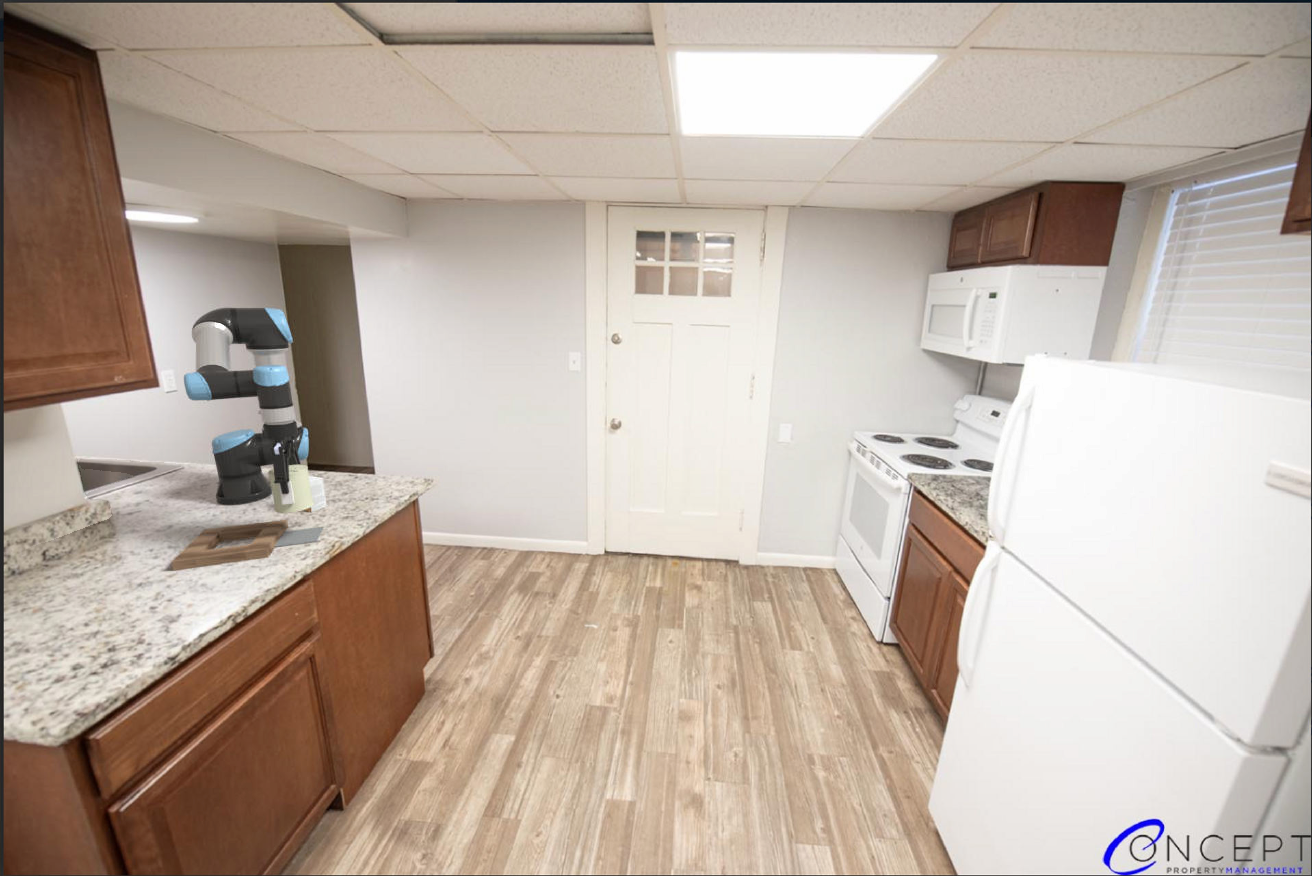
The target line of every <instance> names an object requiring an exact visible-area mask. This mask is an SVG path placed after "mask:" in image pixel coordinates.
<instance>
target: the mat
mask: <svg viewBox="0 0 1312 876" xmlns="http://www.w3.org/2000/svg"><path fill="white" fill-rule="evenodd" d="M324 528H325V527H324V526H319V527H316V526H315V527H309V528H301V529H292V530H286V531H284V533H283V534H282V536H281V537H280V539H279V540H278V542H277V543H276V545H275V548H281V547H289V546H296V545H304V544H310V543H317V542H318V540H319V538H320V536H321V533H322V532H323V530H324Z"/></svg>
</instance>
